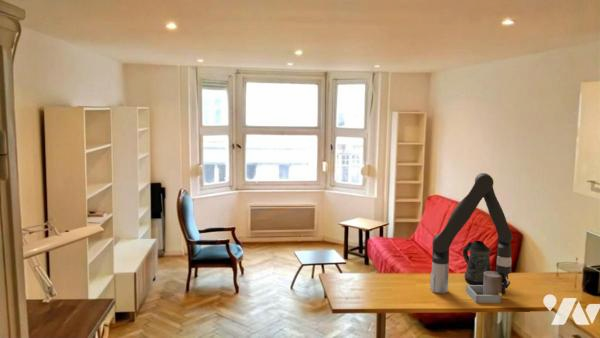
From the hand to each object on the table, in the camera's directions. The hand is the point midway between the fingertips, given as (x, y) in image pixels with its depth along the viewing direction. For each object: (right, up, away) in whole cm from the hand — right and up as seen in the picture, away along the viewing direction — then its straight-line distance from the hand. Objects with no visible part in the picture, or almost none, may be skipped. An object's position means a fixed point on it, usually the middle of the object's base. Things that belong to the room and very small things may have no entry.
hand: (502, 293), depth 247 cm
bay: (-10, -2, +1) cm, 11 cm away
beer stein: (-5, 0, +25) cm, 26 cm away
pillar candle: (-6, -2, 0) cm, 6 cm away
